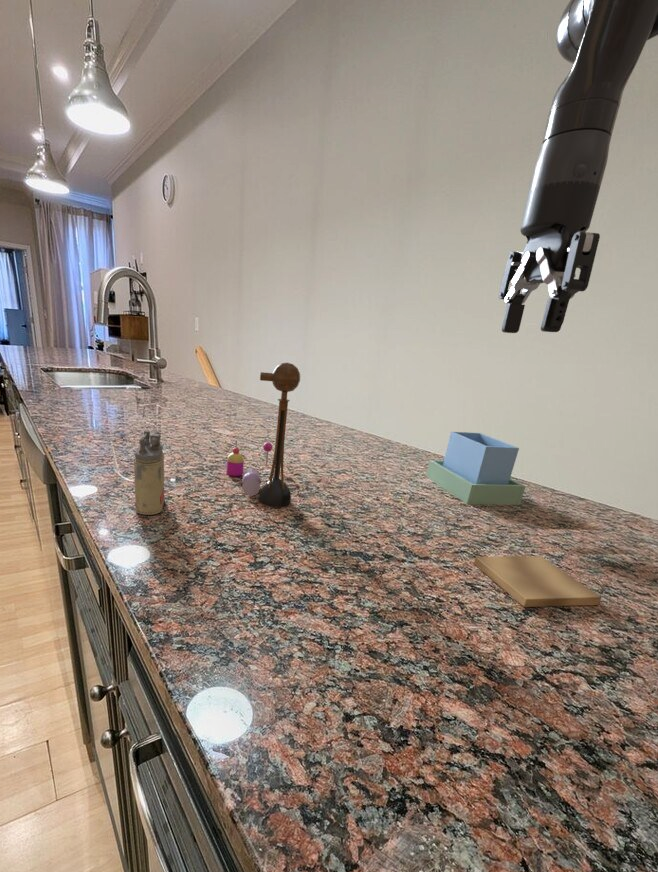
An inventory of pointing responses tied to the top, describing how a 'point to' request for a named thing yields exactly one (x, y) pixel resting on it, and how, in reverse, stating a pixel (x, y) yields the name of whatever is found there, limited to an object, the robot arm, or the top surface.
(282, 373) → the wooden tabletop sculpture
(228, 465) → the candy
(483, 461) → the top bin
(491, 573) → the cork mat
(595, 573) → the top surface
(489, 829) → the top surface
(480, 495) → the bottom bin
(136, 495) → the beige upright cylinder
